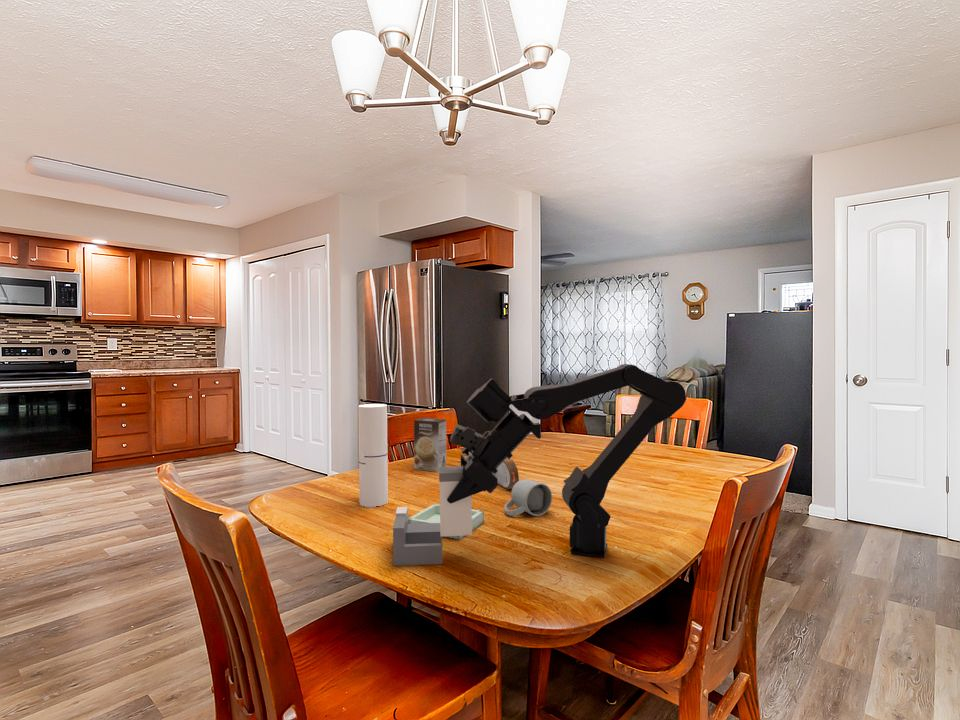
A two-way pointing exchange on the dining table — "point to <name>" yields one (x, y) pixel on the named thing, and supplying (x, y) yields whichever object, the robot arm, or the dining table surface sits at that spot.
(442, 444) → the coffee box
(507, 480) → the tin
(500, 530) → the dining table surface
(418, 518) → the tray
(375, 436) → the cylindrical container
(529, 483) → the ceramic mug
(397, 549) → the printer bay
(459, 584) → the dining table surface
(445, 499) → the block
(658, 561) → the dining table surface
